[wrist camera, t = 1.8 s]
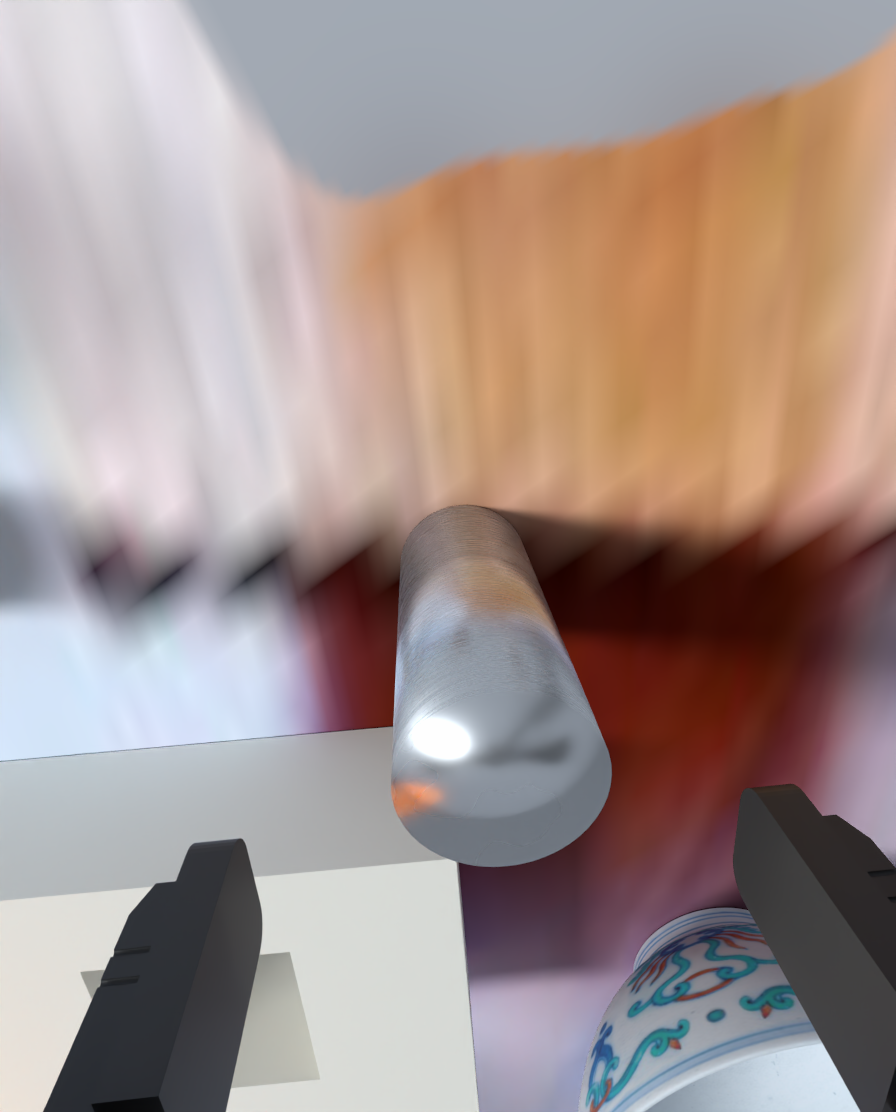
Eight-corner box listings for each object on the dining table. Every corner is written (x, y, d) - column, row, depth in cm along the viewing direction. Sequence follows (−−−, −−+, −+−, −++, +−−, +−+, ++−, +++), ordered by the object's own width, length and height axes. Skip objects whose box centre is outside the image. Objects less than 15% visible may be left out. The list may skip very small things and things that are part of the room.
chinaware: (855, 1046, 32) (981, 1265, 25) (547, 1083, 32) (585, 1314, 25) (904, 809, 26) (1087, 1008, 19) (528, 855, 26) (570, 1071, 19)
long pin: (523, 499, 20) (614, 681, 11) (527, 614, 22) (609, 856, 13) (394, 510, 20) (379, 702, 11) (406, 624, 22) (402, 875, 13)
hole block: (445, 721, 23) (456, 858, 18) (466, 953, 28) (479, 1118, 23) (-9, 762, 23) (-141, 913, 18) (88, 989, 28) (7, 1165, 22)
